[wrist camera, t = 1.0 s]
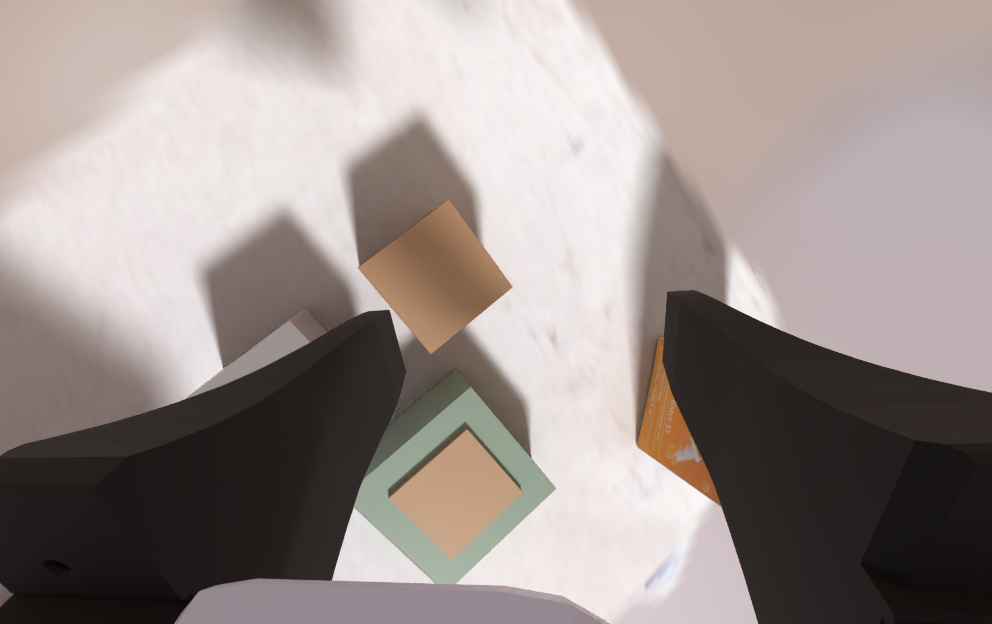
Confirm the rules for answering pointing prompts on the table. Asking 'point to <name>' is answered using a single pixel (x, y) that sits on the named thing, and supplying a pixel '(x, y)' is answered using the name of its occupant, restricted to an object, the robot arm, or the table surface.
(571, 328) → the table surface
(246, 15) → the table surface
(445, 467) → the green block
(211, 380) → the grey cube
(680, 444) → the small box
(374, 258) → the walnut cube
